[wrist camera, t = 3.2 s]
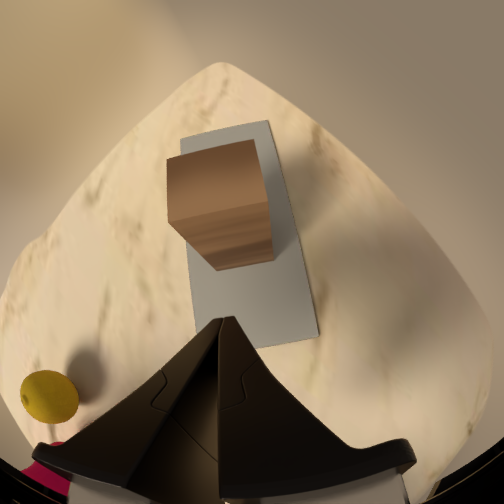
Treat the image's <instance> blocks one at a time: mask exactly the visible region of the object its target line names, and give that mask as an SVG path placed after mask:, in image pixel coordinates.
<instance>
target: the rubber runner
mask: <svg viewBox="0 0 504 504" xmlns="http://www.w3.org/2000/svg"><path fill="white" fill-rule="evenodd" d="M250 139H254V141H255V146H256V150H257V154H258V158H259V163H260V167H261V171H262V176H263V180H264V185H265V189H266V194H267V198H268V205H269V214H270V224H271V234H272V245H273V256H274V261H270V262H265V263H259V264H254V265H249V266H243V267H238V268H233V269H227V270H222V271H216V270H215V269H214V268H213V267H212V266H211V265H210V264H209V263H208V262H207V261H206V260H205V259H204V258H203V257H202V256H201V255H200V254H199V253H198V252H197V251H196V250H195V249H194V248H193V247H192V246H191V245H190V244H189V243H188V242H187V241H186V249H187V259H188V269H189V278H190V287H191V295H192V303H193V311H194V318H195V326H196V333H197V334H198V333H199V332H200V331H201V330H202V329H203V328H204V327H205V326H206V325H207V324H208V323H209V322H210V321H211V320H212V319H214V318H221V317H223V318H224V317H227V316H235V317H236V319H237V321H238V322H239V324H240V326H241V327H242V329H243V330H244V332H245V334H246V335H247V337H248V339H249V340H250V342H251V343H252V345H253V347H254V348H255V349H257V348H263V347H269V346H274V345H280V344H285V343H291V342H296V341H301V340H305V339H310V338H315V337H319V334H318V329H317V323H316V318H315V313H314V308H313V303H312V298H311V293H310V288H309V284H308V279H307V274H306V270H305V265H304V261H303V256H302V252H301V247H300V243H299V239H298V235H297V230H296V226H295V222H294V218H293V214H292V210H291V206H290V202H289V198H288V194H287V190H286V186H285V183H284V179H283V175H282V171H281V168H280V164H279V160H278V157H277V153H276V150H275V146H274V143H273V139H272V136H271V132H270V129H269V125H268V122H267V120H265V121H259V122H253V123H247V124H242V125H237V126H232V127H227V128H223V129H218V130H214V131H210V132H205V133H201V134H197V135H193V136H190V137H186V138H182V139H180V144H181V155H184V154H188V153H191V152H195V151H199V150H204V149H208V148H212V147H216V146H221V145H225V144H230V143H235V142H240V141H245V140H250Z"/></svg>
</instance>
